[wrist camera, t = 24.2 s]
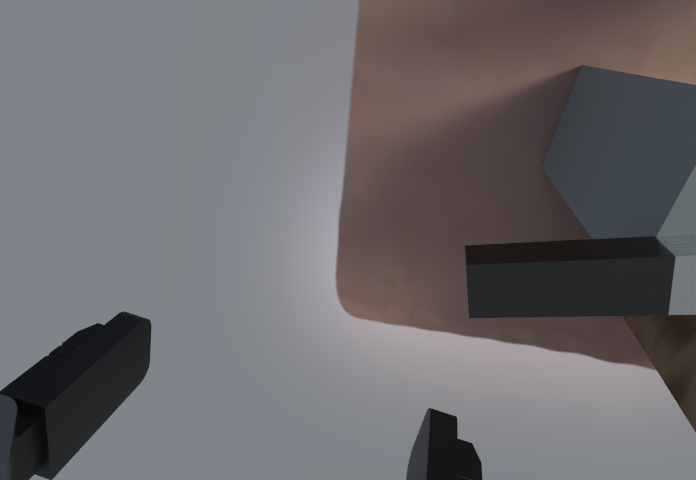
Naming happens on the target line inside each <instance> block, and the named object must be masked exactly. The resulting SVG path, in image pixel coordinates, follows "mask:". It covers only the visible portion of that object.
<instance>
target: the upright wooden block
mask: <svg viewBox="0 0 696 480" xmlns="http://www.w3.org/2000/svg"><path fill="white" fill-rule="evenodd" d="M623 317H624V318H625V320H626V322H627V323H628V325H629V326H630V328H631V330H632V331H633V333H634V334H635V336H636V338H637V339H638V341H639V342H640V344H641V346H642V347H643V349H644V350H645V352H646V354H647V355H648V357H649V358H650V360H651V362H652V363H653V365H654V366H655V368H656V370H657V371H658V373H659V374H660V376H661V378H662V379H663V380H664V382H665V384H666V386H667V387H668V389H669V390H670V392H671V394H672V395H673V397H674V398H675V400H676V401H677V403H678V405H679V406H680V408H681V410H682V411H683V413H684V414H685V416H686V418H687V419H688V421H689V422H690V424H691V426H692V427H693V428H694V430H695V432H696V315H634V316H623Z"/></svg>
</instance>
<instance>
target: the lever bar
mask: <svg viewBox="0 0 696 480" xmlns="http://www.w3.org/2000/svg"><path fill="white" fill-rule="evenodd" d="M465 253H466V271H467V290H468V306H469V318H496V317H565V316H634V315H696V234H687V235H667V236H647V237H628V238H608V239H588V240H568V241H548V242H529V243H509V244H489V245H469V246H465Z"/></svg>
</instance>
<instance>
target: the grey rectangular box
mask: <svg viewBox="0 0 696 480" xmlns="http://www.w3.org/2000/svg"><path fill="white" fill-rule="evenodd" d="M541 168H542V170H543V171H544V173H545V174H546V175H547V177H548V178H549V180H550V181H551V182H552V184H553V185H554V187H555V188H556V189H557V191H558V192H559V194H560V195H561V196H562V198H563V199H564V201H565V202H566V203H567V205H568V206H569V208H570V209H571V210H572V212H573V213H574V215H575V216H576V217H577V219H578V220H579V222H580V223H581V224H582V226H583V227H584V229H585V230H586V231H587V233H588V234H589V236H590V237H591V238H592V239H608V238H628V237H647V236H667V235H687V234H696V85H691V84H686V83H680V82H674V81H669V80H663V79H657V78H651V77H646V76H640V75H634V74H629V73H623V72H617V71H612V70H606V69H600V68H594V67H589V66H583V65H582V66H581V69H580V71H579V74H578V76H577V79H576V81H575V84H574V86H573V89H572V91H571V94H570V96H569V99H568V101H567V104H566V106H565V109H564V111H563V114H562V116H561V118H560V121H559V123H558V126H557V128H556V131H555V133H554V136H553V138H552V141H551V143H550V146H549V148H548V151H547V153H546V156H545V158H544V161H543V163H542V166H541Z"/></svg>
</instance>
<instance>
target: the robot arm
mask: <svg viewBox="0 0 696 480" xmlns="http://www.w3.org/2000/svg"><path fill="white" fill-rule="evenodd" d="M150 343H151V322H150V320H149V319H145V318H143V317H139V316H136V315H133V314H130V313H127V312H121V313H119V314H118V315H116V316H115V317H114V318H113V319H111V320H110V321H109V322H108V323H106V324H105V325H102V324H99V323H98V324H95V325H93V326H90V327H88V328H85V329H83V330H80V331H78V332H76V333H75V334H74V335H73V336H71V337H70V338H69V339H67V340H66V341H65V342H64V343H63V344H62V346H58V347H57V348H56V349H55V350H53V351H52V352H51V353H49V356H45V357H44V358H43V359H41V360H40V361H39V362H38V363H36V364H35V365H34V366H33V367H31V368H30V369H28V370H27V371H26V372H25V373H23V374H22V375H21V376H20V377H18V378H17V379H16V380H14V381H13V382H12V383H10V384H9V385H8V386H6V387H5V388H4V389H3V390H1V391H0V480H29V479H30V478H31V477H32V476H33V475H34V474H36V475H39V476H42V477H44V478H47V479H49V480H52V479H53V478H54V477H55V476H56V475H57V474H58V472H59V471H60V470H61V469H62V468H63V467H64V466H65V465H66V464H67V462H69V460H70V459H71V458H72V457H73V456H74V455H75V454H76V453H77V452H78V451H79V449H80V448H81V447H82V446H83V445H84V444H85V443H86V442H87V441H88V440H89V439H90V438H91V436H92V435H93V434H94V433H95V432H96V431H97V430H98V429H99V428H100V427H101V426H102V424H103V423H104V422H105V421H106V420H107V419H108V418H109V417H110V415H112V413H113V412H114V411H115V410H116V409H117V408H118V407H119V406H120V405H121V404H122V403H123V402H124V400H125V399H126V398H127V397H128V396H129V395H130V394H131V393H132V392H133V391H134V390H135V389H136V387H137V386H138V385H139V384H140V383H141V382H142V380H143V379H144V377H145V375H146V373H147V370H148V368H149V363H150ZM481 468H482V467H481V461H480V459H479V457H478V455H477V453H476V451H475V448H474V446H473V444H472V443H469V442H466V441H463V440H460V439H457V417H456V416H453V415H449V414H446V413H443V412H440V411H437V410H434V409H431V408H429V409H428V410H427V412H426V415H425V417H424V420H423V423H422V425H421V428H420V431H419V433H418V436H417V438H416V441H415V443H414V446H413V449H412V452H411V456H410V459H409V465H408V470H407V480H482V469H481Z"/></svg>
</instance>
